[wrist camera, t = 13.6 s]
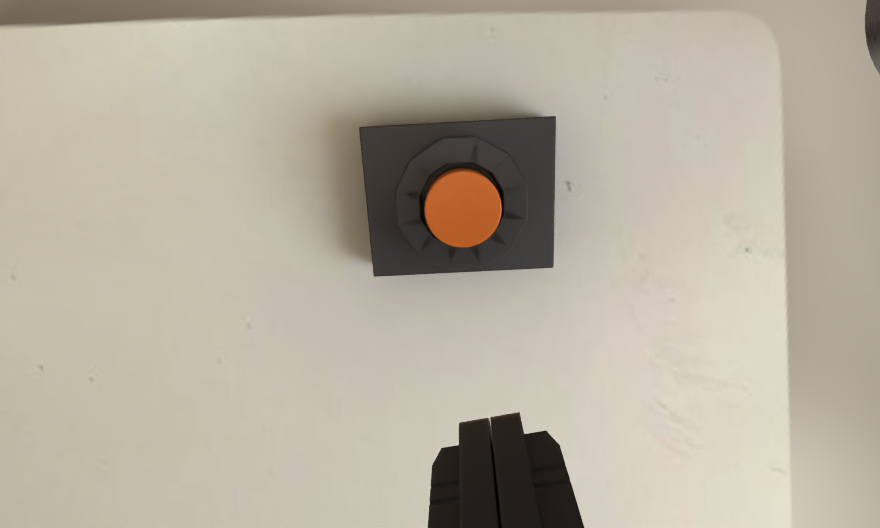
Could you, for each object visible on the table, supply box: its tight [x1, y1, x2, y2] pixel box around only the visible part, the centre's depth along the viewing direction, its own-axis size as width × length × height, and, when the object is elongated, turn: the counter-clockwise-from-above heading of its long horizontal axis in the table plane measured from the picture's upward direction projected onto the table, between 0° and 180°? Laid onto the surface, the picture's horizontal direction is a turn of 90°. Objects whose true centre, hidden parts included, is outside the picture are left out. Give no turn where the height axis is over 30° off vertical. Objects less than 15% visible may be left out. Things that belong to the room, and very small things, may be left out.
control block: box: [359, 116, 556, 276], centre depth 24 cm, size 10×8×4 cm
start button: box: [424, 168, 502, 247], centre depth 22 cm, size 4×4×2 cm
